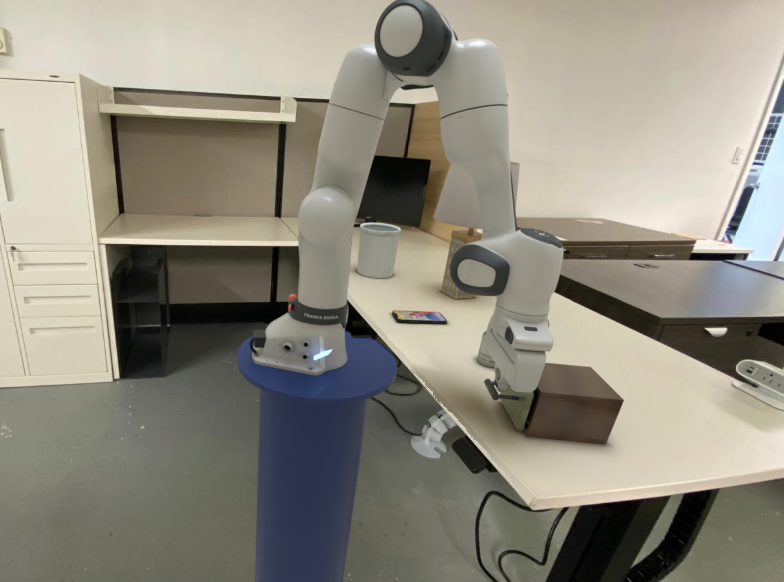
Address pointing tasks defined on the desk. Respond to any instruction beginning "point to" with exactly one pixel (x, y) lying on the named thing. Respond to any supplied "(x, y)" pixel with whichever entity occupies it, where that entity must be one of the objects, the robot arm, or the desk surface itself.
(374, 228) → the utensil holder
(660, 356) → the desk surface
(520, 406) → the drawer
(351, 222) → the robot arm
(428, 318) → the smartphone
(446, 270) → the lamp
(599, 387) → the cabinet
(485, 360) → the camera lens
